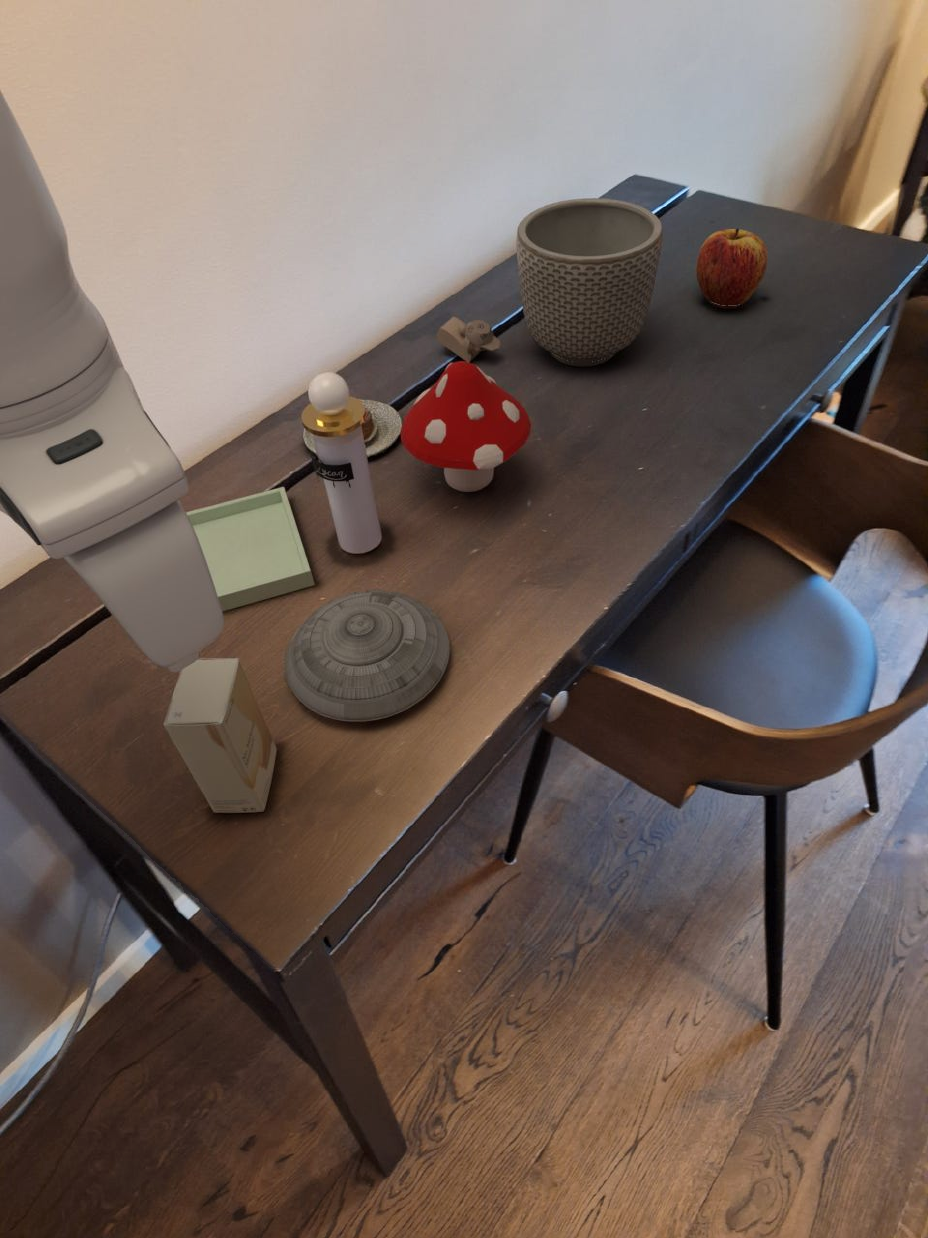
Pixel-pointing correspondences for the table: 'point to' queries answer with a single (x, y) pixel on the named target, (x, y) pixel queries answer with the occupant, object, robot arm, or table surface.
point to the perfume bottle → (343, 461)
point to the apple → (731, 266)
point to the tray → (252, 548)
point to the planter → (587, 276)
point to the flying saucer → (367, 656)
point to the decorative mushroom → (465, 426)
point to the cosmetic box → (222, 735)
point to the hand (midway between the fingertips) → (143, 613)
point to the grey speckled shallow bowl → (373, 428)
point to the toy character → (467, 338)
